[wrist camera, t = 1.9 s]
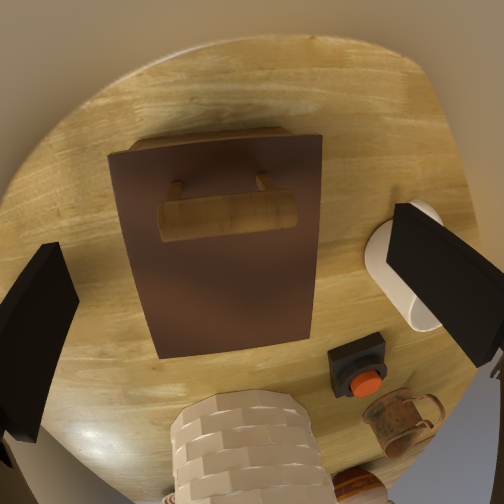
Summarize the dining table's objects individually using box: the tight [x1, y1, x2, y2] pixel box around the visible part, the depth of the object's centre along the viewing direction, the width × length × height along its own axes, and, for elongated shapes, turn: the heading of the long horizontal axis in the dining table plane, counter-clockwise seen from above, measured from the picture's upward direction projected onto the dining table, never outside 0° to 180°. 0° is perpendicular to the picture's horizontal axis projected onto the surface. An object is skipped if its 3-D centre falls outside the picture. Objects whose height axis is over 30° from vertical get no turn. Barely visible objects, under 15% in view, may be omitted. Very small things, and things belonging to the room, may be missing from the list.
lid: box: [107, 133, 322, 359], centre depth 19 cm, size 16×13×7 cm
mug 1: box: [364, 199, 443, 332], centre depth 30 cm, size 12×8×10 cm
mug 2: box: [362, 388, 445, 459], centre depth 49 cm, size 12×18×12 cm, turn 169°
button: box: [350, 370, 382, 397], centre depth 41 cm, size 4×4×2 cm
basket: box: [171, 389, 338, 504], centre depth 41 cm, size 25×24×19 cm
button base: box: [328, 332, 387, 398], centre depth 43 cm, size 10×8×4 cm
